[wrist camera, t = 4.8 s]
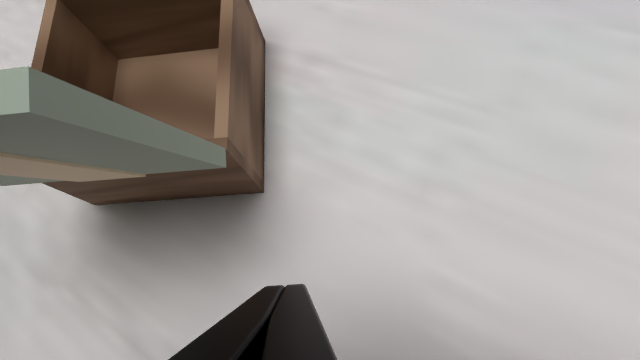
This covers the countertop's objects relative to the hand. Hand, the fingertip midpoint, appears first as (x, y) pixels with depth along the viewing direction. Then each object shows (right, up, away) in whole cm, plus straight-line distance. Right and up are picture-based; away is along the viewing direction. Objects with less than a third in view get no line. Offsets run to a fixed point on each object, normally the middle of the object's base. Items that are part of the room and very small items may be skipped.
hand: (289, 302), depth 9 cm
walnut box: (-8, +6, +17) cm, 19 cm away
